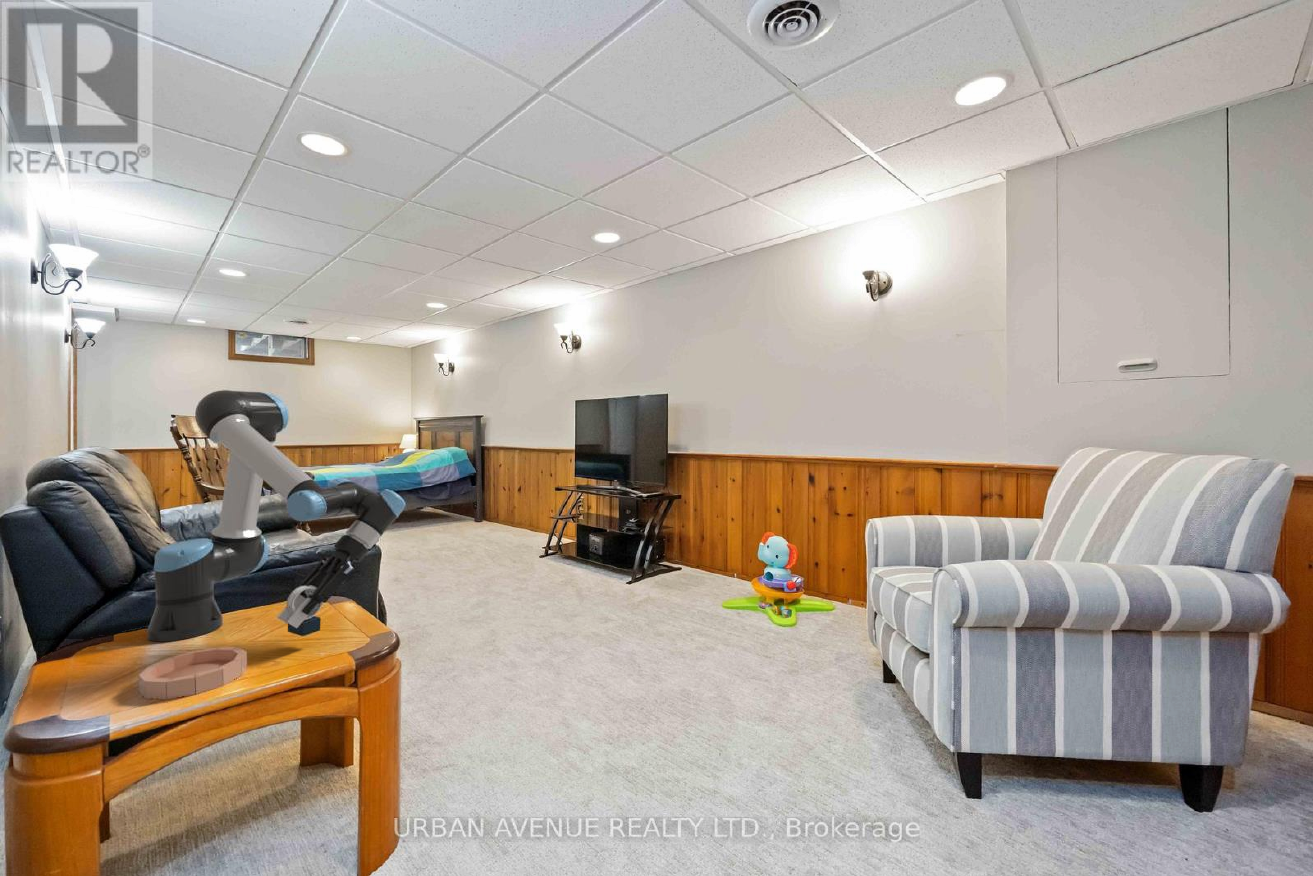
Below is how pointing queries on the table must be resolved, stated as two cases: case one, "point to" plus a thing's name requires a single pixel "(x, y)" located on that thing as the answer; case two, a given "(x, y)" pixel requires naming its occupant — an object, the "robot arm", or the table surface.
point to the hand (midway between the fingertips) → (286, 622)
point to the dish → (192, 672)
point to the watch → (311, 621)
